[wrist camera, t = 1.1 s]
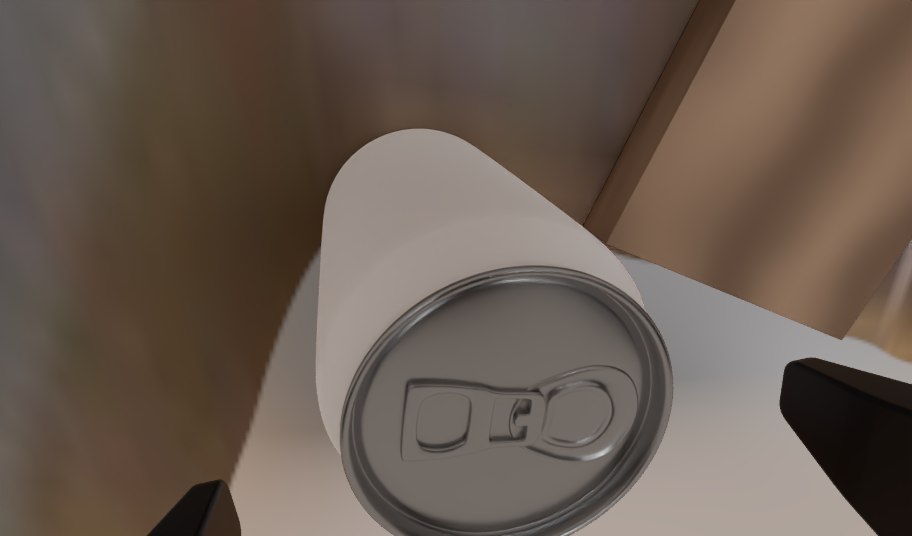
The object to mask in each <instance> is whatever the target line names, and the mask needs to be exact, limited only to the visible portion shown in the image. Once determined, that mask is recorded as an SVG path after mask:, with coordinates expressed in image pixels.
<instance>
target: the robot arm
mask: <svg viewBox="0 0 912 536" xmlns="http://www.w3.org/2000/svg"><path fill="white" fill-rule="evenodd" d="M780 409H781V413H782V414H783V417H784V418H785V420H786V421H787V422H788V424H789V425H790V426H791V428H792V429H793V431H794V432H795V433H796V435H797V436H798V437H799V439H800V440H801V441H802V443H803V444H804V445H805V446H806V448H807V449H808V451H809V452H810V453H811V455H812V456H813V457H814V459H815V460H816V461H817V463H818V464H819V465H820V466H821V468H822V469H823V471H824V472H825V473H826V475H827V476H828V477H829V479H830V480H831V481H832V483H833V484H834V485H835V486H836V488H837V489H838V490H839V491H840V493H841V494H842V495H843V497H844V498H845V499H846V500H847V501H848V502H849V504H850V505H851V506H852V507H853V508H854V509H855V510H856V512H857V513H858V514H859V515H860V516H861V517H862V518H863V519H864V520H865V522H866V523H867V524H868V525H869V526H870V527H871V528H872V529H873V530H874V532H875V533H876V534H877V535H878V536H912V384H908V383H905V382H901V381H898V380H894V379H890V378H887V377H883V376H880V375H876V374H872V373H868V372H865V371H861V370H858V369H854V368H850V367H847V366H843V365H839V364H836V363H832V362H828V361H825V360H821V359H818V358H805V359H800V360H796V361H792V362H790V363H788V364H787V365H786V367H785V370H784V375H783V382H782V388H781V395H780ZM147 536H241V527H240V521H239V518H238V515H237V512H236V509H235V506H234V502H233V499H232V496H231V493H230V490H229V487H228V485H227V483H226V482H225V481H223V480H215V481H210V482H205V483H200V484H197V485H195V486H193V487H192V488H191V489H190V490H189V491H188V492H187V493H186V494H185V495H184V496H183V497H182V498H181V499H180V500H179V502H178V503H177V504H176V505H175V506H174V507H173V508H172V509H171V510H170V511H169V512H168V513H167V515H166V516H165V517H164V518H163V519H162V520H161V521H160V522H159V523H158V524H157V525H156V526H155V527H154V529H153V530H152V531H151V532H150V533H149V534H148V535H147Z"/></svg>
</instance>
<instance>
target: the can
mask: <svg viewBox="0 0 912 536" xmlns="http://www.w3.org/2000/svg"><path fill="white" fill-rule="evenodd" d="M317 315H318V316H317V333H316V390H317V397H318V404H319V408H320V413H321V417H322V421H323V424H324V426H325V429H326V432H327V434H328V436H329V438H330V440H331V442H332V444H333V445H334V447H335V449H336V450H337V452H338V454H339V455H340V457H341V458H342V463H343V467H344V471H345V474H346V477H347V479H348V482H349V484H350V486H351V489H352V491H353V492H354V494H355V496H356V498H357V499H358V501H359V502H360V504H361V505H362V506H363V507H364V509H365V510H366V511H367V513H368V514H369V515H370V516H371V517H372V518H373V519H374V520H375V521H376V522H377V523H379V524H380V525H381V526H382V527H383V528H384V529H386V530H387V531H388V532H390V533H391V534H393V535H394V536H569V535H571V534H573V533H575V532H577V531H579V530H580V529H582V528H584V527H585V526H587V525H588V524H590V523H592V522H593V521H594V520H596V519H597V518H599V517H600V516H601V515H603V514H604V513H605V512H607V511H608V510H609V509H610V508H611V507H613V506H614V505H615V504H616V503H617V502H618V501H619V500H620V499H621V498H622V497H623V496H624V495H625V494H626V493H627V492H628V491H629V490H630V489H631V488H632V487H633V486H634V484H635V483H636V482H637V481H638V480H639V478H640V477H641V476H642V474H643V473H644V471H645V470H646V469H647V467H648V465H649V464H650V462H651V461H652V459H653V457H654V455H655V454H656V452H657V450H658V448H659V445H660V443H661V441H662V439H663V436H664V433H665V430H666V428H667V424H668V421H669V417H670V412H671V407H672V399H673V375H672V367H671V362H670V358H669V354H668V351H667V348H666V345H665V342H664V340H663V338H662V336H661V334H660V332H659V330H658V328H657V327H656V325H655V323H654V322H653V321H652V319H651V318H650V317H649V315H648V314H647V313H646V310H645V307H644V303H643V301H642V298H641V295H640V293H639V291H638V288H637V286H636V284H635V283H634V281H633V279H632V277H631V276H630V274H629V273H628V271H627V270H626V268H625V267H624V266H623V265H622V263H621V262H620V261H619V260H618V259H617V258H616V257H615V255H614V254H613V253H612V252H611V251H610V250H609V249H608V248H607V247H606V246H605V245H604V244H603V243H602V242H601V241H599V240H598V239H597V238H596V237H595V236H593V235H592V234H591V233H590V232H589V231H587V230H586V229H585V228H584V227H582V226H581V225H580V224H578V223H577V222H576V221H575V220H573V219H572V218H571V217H569V216H568V215H567V214H566V213H564V212H563V211H562V210H560V209H559V208H558V207H556V206H555V205H554V204H552V203H551V202H550V201H548V200H547V199H546V198H544V197H543V196H542V195H540V194H539V193H538V192H536V191H535V190H534V189H532V188H531V187H530V186H528V185H527V184H525V183H524V182H523V181H521V180H520V179H519V178H517V177H516V176H515V175H513V174H512V173H511V172H509V171H508V170H507V169H505V168H504V167H502V166H501V165H500V164H498V163H497V162H496V161H494V160H493V159H491V158H490V157H489V156H487V155H486V154H485V153H483V152H482V151H480V150H479V149H477V148H476V147H474V146H473V145H471V144H470V143H468V142H466V141H465V140H463V139H461V138H459V137H456V136H454V135H451V134H449V133H445V132H442V131H437V130H431V129H406V130H400V131H396V132H392V133H389V134H386V135H383V136H381V137H379V138H377V139H375V140H373V141H371V142H369V143H368V144H366V145H365V146H363V147H362V148H361V149H359V150H358V151H357V152H356V153H355V154H353V155H352V156H351V157H350V158H349V159H348V161H347V162H346V163H345V164H344V165H343V167H342V168H341V169H340V171H339V172H338V174H337V176H336V177H335V179H334V181H333V183H332V185H331V188H330V190H329V193H328V196H327V200H326V204H325V210H324V217H323V228H322V242H321V258H320V276H319V294H318V313H317Z"/></svg>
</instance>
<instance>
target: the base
mask: <svg viewBox="0 0 912 536" xmlns="http://www.w3.org/2000/svg"><path fill="white" fill-rule="evenodd" d="M583 227H584V228H586V229H587V230H588V231H590V232H591V233H592V234H594V235H595V236H596V237H598V238H599V239H600V240H602V241H603V242H604V243H606V244H608V245H610V246H613V247H615V248H618V249H620V250H623V251H625V252H628V253H630V254H632V255H635V256H637V257H640V258H642V259H645V260H647V261H650V262H652V263H654V264H657V265H660V266H662V267H664V268H667V269H669V270H672V271H674V272H676V273H679V274H681V275H684V276H686V277H689V278H691V279H694V280H696V281H698V282H701V283H703V284H706V285H708V286H711V287H713V288H716V289H718V290H720V291H723V292H725V293H728V294H730V295H733V296H735V297H737V298H740V299H742V300H745V301H747V302H750V303H752V304H755V305H757V306H759V307H762V308H764V309H767V310H769V311H772V312H774V313H776V314H779V315H781V316H784V317H786V318H789V319H791V320H794V321H796V322H799V323H801V324H803V325H806V326H808V327H811V328H813V329H815V330H818V331H820V332H823V333H825V334H828V335H830V336H833V337H835V338H837V339H840V340H842V339H843V338H844V336H845V335H846V333H847V332H848V331H849V329H850V328H851V326H852V325H853V323H854V322H855V320H856V319H857V317H858V316H859V315H860V313H861V312H862V310H863V309H864V307H865V306H866V304H867V303H868V301H869V300H870V299H871V297H872V296H873V294H874V293H875V291H876V290H877V288H878V287H879V285H880V284H881V283H882V281H883V280H884V278H885V277H886V275H887V274H888V272H889V271H890V269H891V268H892V267H893V265H894V264H895V262H896V261H897V259H898V258H899V256H900V255H901V253H902V252H903V251H904V249H905V248H906V246H907V245H908V243H909V242H910V240H911V239H912V0H700V1H699V3H698V5H697V7H696V9H695V11H694V13H693V15H692V17H691V19H690V21H689V23H688V24H687V26H686V28H685V30H684V32H683V34H682V36H681V38H680V40H679V42H678V44H677V46H676V48H675V50H674V52H673V53H672V55H671V57H670V59H669V61H668V63H667V65H666V67H665V69H664V71H663V73H662V75H661V77H660V79H659V81H658V83H657V84H656V86H655V88H654V90H653V92H652V94H651V96H650V98H649V100H648V102H647V104H646V106H645V108H644V110H643V112H642V113H641V115H640V117H639V119H638V121H637V123H636V125H635V127H634V129H633V131H632V133H631V135H630V137H629V139H628V141H627V143H626V144H625V146H624V148H623V150H622V152H621V154H620V156H619V158H618V160H617V162H616V164H615V166H614V168H613V170H612V172H611V173H610V175H609V177H608V179H607V181H606V183H605V185H604V187H603V189H602V191H601V193H600V195H599V197H598V199H597V201H596V202H595V204H594V206H593V208H592V210H591V212H590V214H589V216H588V218H587V220H586V222H585V224H584V226H583Z"/></svg>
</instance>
